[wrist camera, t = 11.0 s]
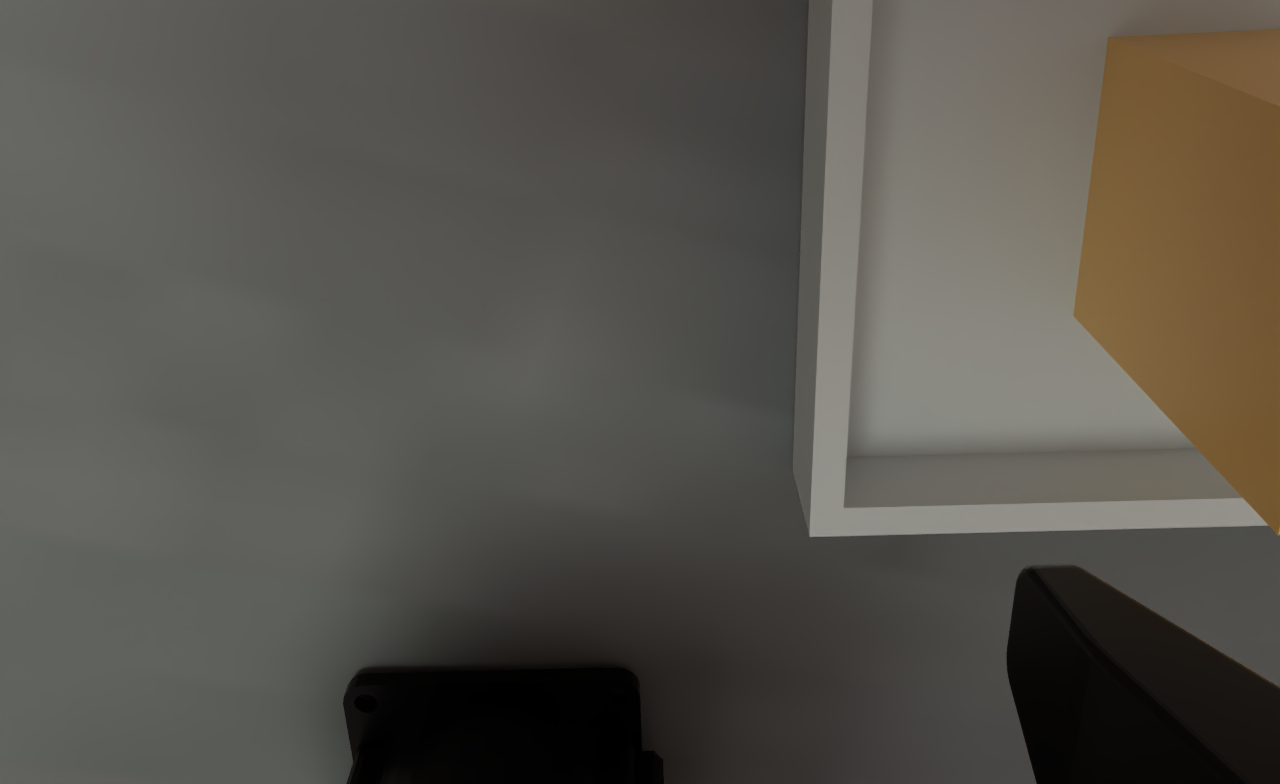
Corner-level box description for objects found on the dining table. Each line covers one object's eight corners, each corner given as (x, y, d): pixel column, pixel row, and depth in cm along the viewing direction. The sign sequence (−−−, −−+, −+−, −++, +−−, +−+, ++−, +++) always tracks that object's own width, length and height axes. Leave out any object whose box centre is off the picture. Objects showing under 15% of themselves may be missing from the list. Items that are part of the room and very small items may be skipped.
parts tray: (792, 470, 23) (809, 537, 21) (815, -191, 18) (841, -196, 16) (1434, 454, 23) (1520, 519, 21) (1639, -216, 18) (1783, -225, 16)
